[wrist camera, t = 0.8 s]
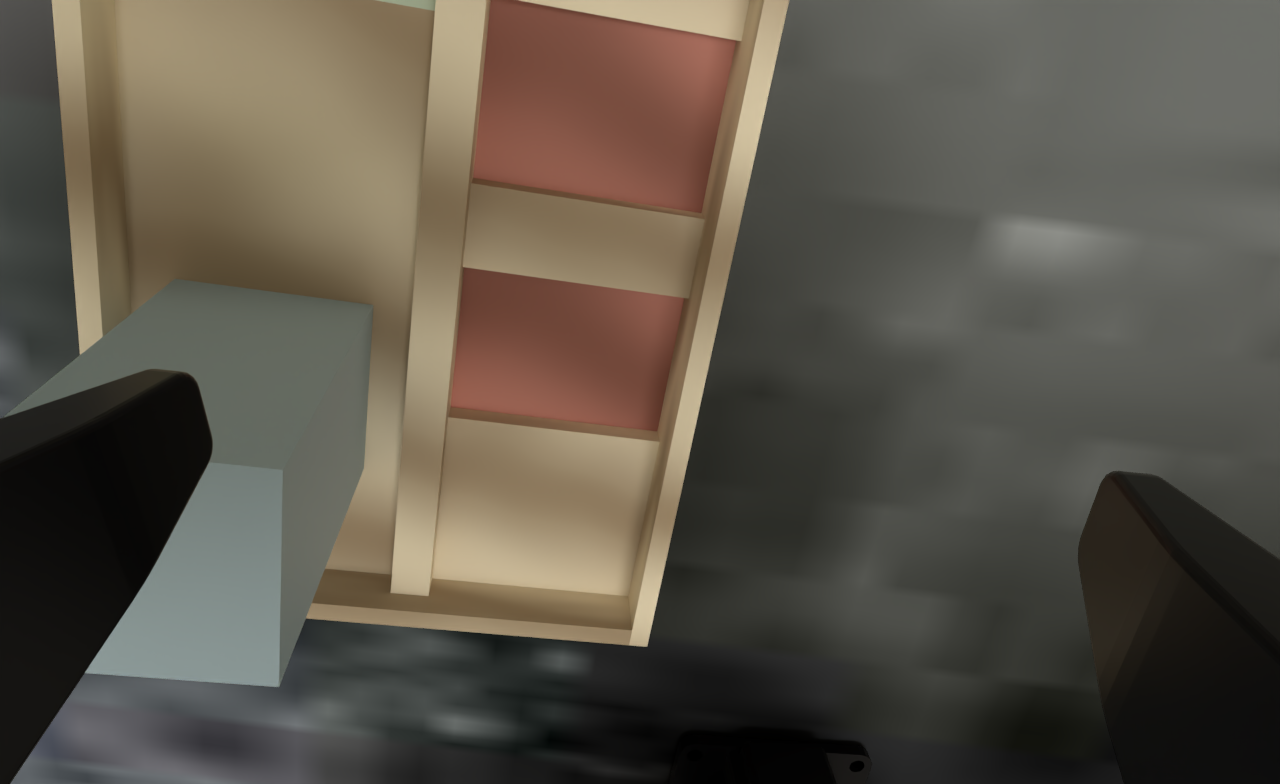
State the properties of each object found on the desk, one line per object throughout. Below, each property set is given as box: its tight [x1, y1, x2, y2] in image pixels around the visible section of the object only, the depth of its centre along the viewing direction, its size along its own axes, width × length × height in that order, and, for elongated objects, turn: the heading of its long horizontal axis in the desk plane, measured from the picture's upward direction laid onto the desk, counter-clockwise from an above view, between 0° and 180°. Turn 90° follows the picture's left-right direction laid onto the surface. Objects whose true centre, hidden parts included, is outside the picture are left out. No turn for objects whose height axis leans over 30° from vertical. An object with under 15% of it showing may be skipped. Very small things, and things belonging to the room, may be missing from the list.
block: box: [3, 279, 373, 687], centre depth 19 cm, size 4×4×8 cm
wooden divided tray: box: [52, 0, 789, 647], centre depth 21 cm, size 21×14×2 cm, turn 170°
